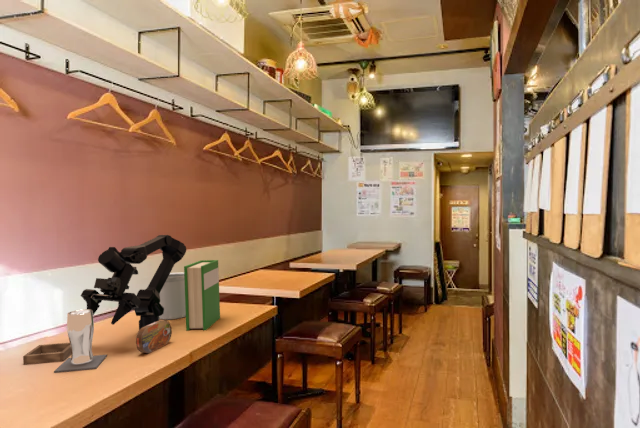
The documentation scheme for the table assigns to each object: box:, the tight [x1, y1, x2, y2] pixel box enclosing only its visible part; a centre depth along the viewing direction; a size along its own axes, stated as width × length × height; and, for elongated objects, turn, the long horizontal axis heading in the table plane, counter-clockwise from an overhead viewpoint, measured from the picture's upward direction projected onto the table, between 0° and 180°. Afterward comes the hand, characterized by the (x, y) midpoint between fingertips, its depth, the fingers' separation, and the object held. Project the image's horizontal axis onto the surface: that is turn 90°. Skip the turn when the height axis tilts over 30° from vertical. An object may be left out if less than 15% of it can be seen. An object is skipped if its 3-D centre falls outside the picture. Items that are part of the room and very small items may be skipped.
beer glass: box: [66, 308, 95, 365], centre depth 128 cm, size 7×7×15 cm
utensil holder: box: [159, 271, 186, 321], centre depth 184 cm, size 15×15×18 cm
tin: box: [135, 319, 173, 354], centre depth 141 cm, size 15×3×8 cm, turn 163°
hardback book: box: [183, 259, 221, 332], centre depth 169 cm, size 18×7×24 cm, turn 176°
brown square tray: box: [22, 341, 72, 366], centre depth 135 cm, size 11×11×2 cm
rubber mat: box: [53, 354, 108, 374], centre depth 128 cm, size 11×11×1 cm
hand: (99, 322), depth 137 cm, fingers open, 9 cm apart
